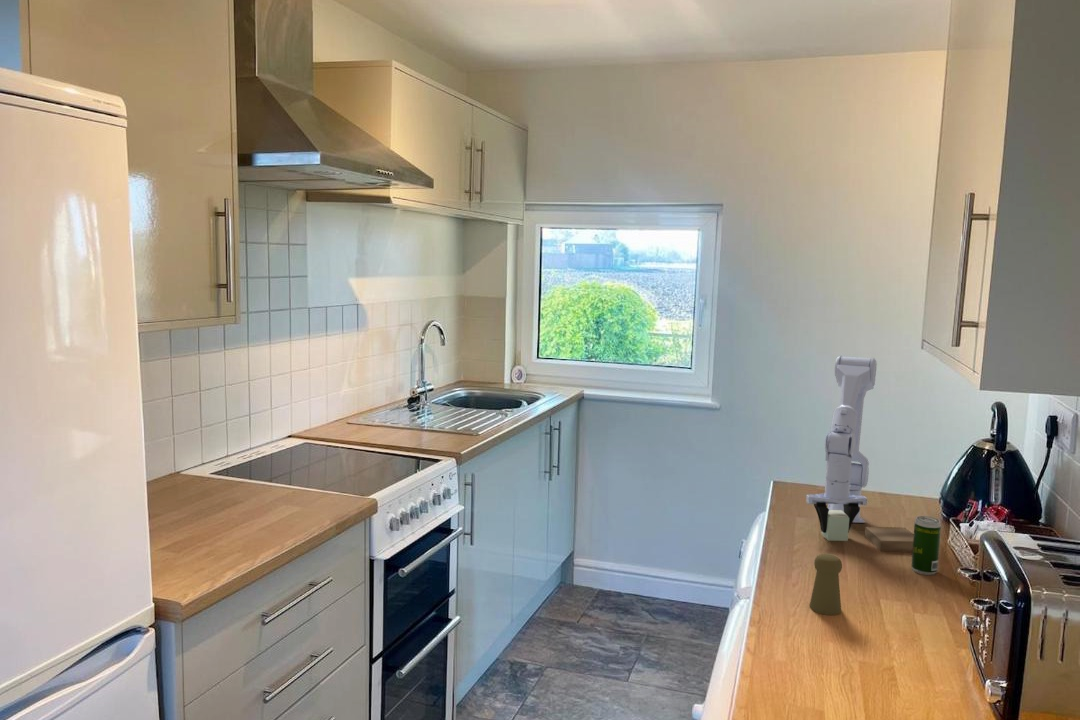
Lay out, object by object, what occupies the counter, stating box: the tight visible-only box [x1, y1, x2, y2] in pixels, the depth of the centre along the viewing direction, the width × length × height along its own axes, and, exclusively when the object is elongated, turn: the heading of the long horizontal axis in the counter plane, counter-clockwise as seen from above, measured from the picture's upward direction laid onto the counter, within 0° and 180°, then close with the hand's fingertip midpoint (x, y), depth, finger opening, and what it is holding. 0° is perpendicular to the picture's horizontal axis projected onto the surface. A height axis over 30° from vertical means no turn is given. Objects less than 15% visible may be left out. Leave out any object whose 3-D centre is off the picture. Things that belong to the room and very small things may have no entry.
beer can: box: [910, 515, 942, 576], centre depth 176 cm, size 5×5×12 cm
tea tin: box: [820, 510, 850, 542], centre depth 198 cm, size 5×5×6 cm
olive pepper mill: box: [809, 553, 843, 616], centre depth 156 cm, size 6×6×11 cm
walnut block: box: [864, 526, 914, 553], centre depth 194 cm, size 10×10×3 cm
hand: (834, 531), depth 198 cm, fingers closed on tea tin, 5 cm apart
